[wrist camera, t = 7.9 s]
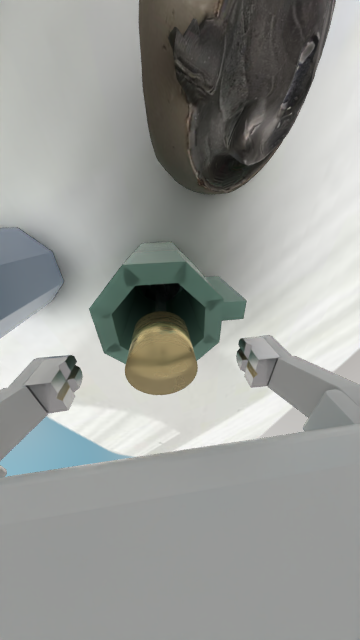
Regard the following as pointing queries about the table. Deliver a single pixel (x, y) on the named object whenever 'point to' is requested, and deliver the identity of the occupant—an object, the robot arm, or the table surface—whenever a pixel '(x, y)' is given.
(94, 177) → the table surface
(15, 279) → the blue pot
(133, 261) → the green mug
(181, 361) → the shiny brass cylinder
